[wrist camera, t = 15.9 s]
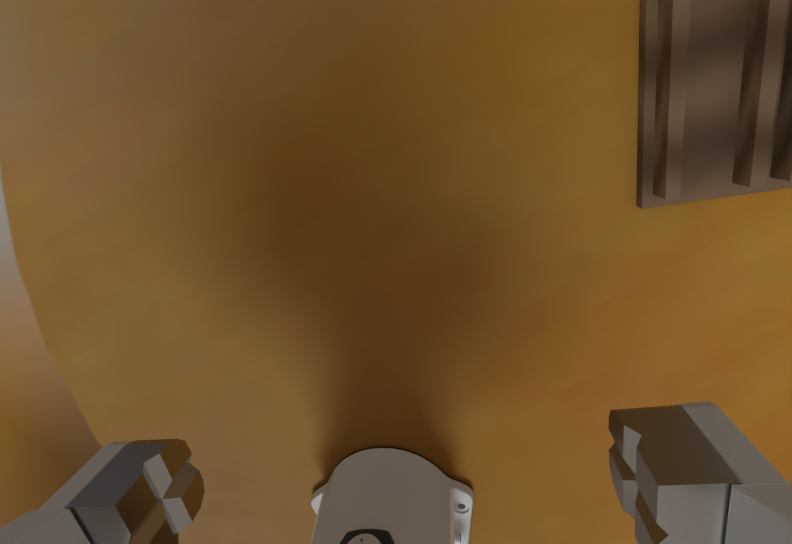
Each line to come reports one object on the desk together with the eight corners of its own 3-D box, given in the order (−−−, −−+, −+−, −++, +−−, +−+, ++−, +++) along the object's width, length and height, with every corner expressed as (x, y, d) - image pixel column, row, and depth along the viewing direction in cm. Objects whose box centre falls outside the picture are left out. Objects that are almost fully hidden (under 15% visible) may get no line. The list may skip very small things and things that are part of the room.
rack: (868, 172, 31) (910, 178, 28) (636, 205, 34) (653, 214, 31) (938, -174, 24) (1002, -212, 21) (641, -98, 27) (664, -122, 24)
